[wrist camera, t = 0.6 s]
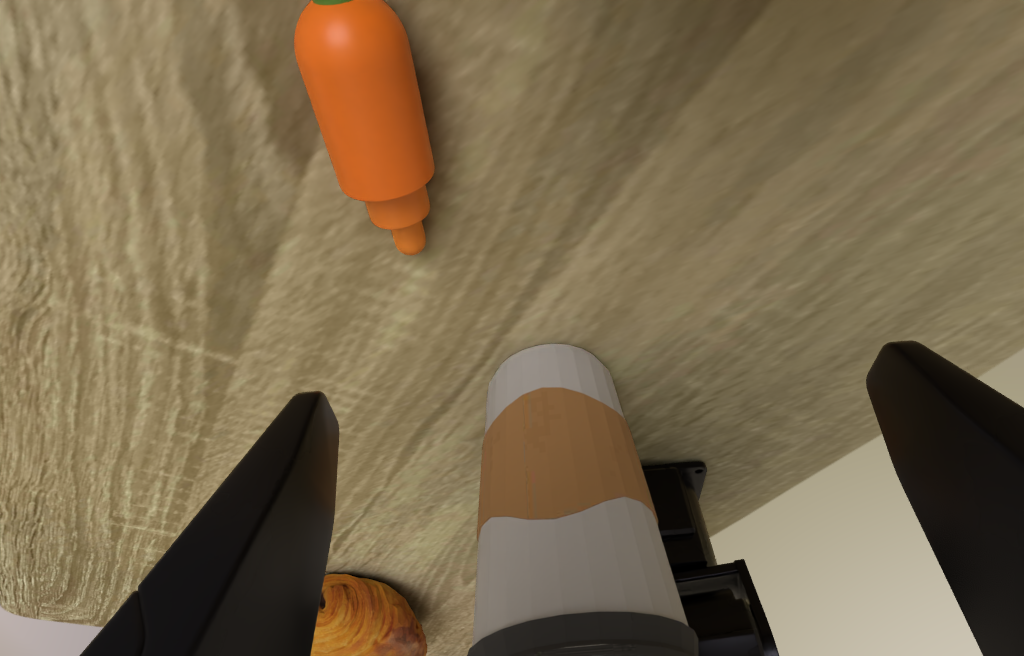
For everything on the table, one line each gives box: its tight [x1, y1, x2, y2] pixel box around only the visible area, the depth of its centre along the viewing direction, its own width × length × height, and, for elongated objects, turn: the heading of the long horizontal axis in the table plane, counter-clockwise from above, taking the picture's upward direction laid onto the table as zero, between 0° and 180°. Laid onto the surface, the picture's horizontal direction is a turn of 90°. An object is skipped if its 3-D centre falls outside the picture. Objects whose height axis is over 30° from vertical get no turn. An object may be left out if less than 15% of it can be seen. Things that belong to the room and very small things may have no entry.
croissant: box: [311, 574, 427, 656], centre depth 48 cm, size 14×16×8 cm
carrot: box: [294, 0, 435, 255], centre depth 19 cm, size 10×3×3 cm, turn 5°
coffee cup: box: [467, 344, 699, 656], centre depth 25 cm, size 8×8×15 cm
